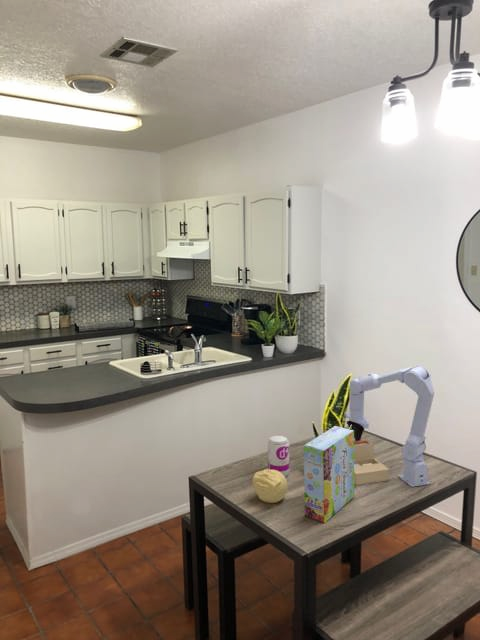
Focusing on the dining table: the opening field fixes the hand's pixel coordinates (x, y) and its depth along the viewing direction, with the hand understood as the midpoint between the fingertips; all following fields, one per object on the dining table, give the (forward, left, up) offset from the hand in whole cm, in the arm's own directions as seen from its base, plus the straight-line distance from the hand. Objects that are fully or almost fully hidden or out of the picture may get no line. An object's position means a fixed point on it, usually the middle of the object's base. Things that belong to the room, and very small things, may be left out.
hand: (356, 439), depth 211 cm
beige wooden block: (-6, +2, -3) cm, 7 cm away
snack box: (-29, +25, -11) cm, 40 cm away
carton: (-12, +2, -10) cm, 16 cm away
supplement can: (-1, +34, -11) cm, 36 cm away
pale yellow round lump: (-18, +43, -11) cm, 48 cm away
